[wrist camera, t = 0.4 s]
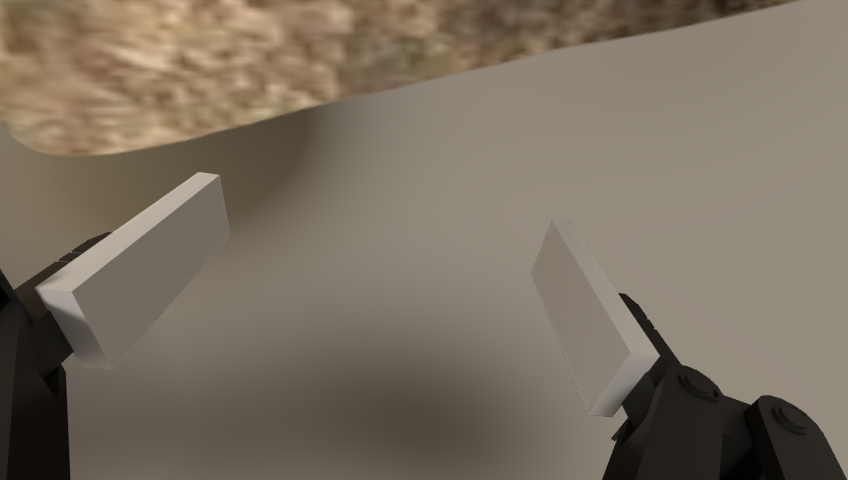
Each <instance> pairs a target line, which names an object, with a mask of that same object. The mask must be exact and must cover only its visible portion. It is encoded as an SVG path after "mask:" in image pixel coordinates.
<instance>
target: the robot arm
mask: <svg viewBox="0 0 848 480" xmlns="http://www.w3.org/2000/svg"><path fill="white" fill-rule="evenodd" d="M229 237H230V231H229V225H228V220H227V214H226V209H225V203H224V198H223V192H222V187H221V181H220V176H219V175H215V174H208V173H200V172H198V173H197V174H195V175H194V176H192V177H191V178H190V179H188V180H187V181H186V182H184V183H182V184H181V185H180V186H179V187H177V188H175V189H174V190H173V191H171V192H170V193H168V194H167V195H165V196H164V197H163V198H161V199H160V200H158V201H157V202H156V203H154V204H153V205H151V206H150V207H148V208H147V209H146V210H144V211H143V212H141V213H140V214H139V215H137V216H136V217H134V218H133V219H131V220H130V221H128V222H127V223H126V224H124V225H123V226H121V227H120V228H119V229H117V230H116V231H114V232H107V233H104V234H102V235H100V236H97V237H95V238H92V239H89V240H87V241H86V242H84V243H83V244H81V245H80V246H78V247H77V248H75V249H74V250H73V251H72V253H68V254H66V255H65V256H63V257H62V258H60V259H59V262H55V263H53V264H52V265H50V266H49V267H47V268H46V269H45V270H43V271H41V272H40V273H38V274H37V275H36V276H34V277H32V278H31V279H30V280H28V281H27V282H25V283H23V284H22V285H20V286H19V287H18V288H16V289H15V290H13V288H12V287H11V285H10V284H9V282H8V280H7V279H6V277H5V276H4V274H3V273H2V271H1V269H0V480H70V458H69V436H68V435H69V434H68V411H67V388H66V372H65V370H64V368H63V366H62V365H61V363H62V362H63V361H64V360H65V359H66V358H67V357H68V356H69V355H70V354H71V353H74V355H75V356H76V358H77V360H78V361H79V363H80V365H81V367H87V368H97V369H108V370H113V369H114V368H115V367H116V365H117V364H118V363H119V362H120V361H121V359H123V357H124V356H125V355H126V354H127V353H128V352H129V351H130V350H131V348H132V347H133V346H134V345H135V344H136V343H137V341H138V340H139V339H140V338H141V337H142V336H143V335H144V334H145V332H146V331H147V330H148V329H149V328H150V327H151V326H152V324H153V323H154V322H155V321H156V320H157V319H158V317H159V316H160V315H161V314H162V313H163V312H164V311H165V309H166V308H167V307H168V306H169V305H170V304H171V303H172V302H173V301H174V299H175V298H176V297H177V296H178V295H179V294H180V293H181V291H182V290H183V289H184V288H185V287H186V286H187V285H188V283H189V282H190V281H191V280H192V279H193V278H194V277H195V275H196V274H197V273H198V272H199V271H200V270H201V268H202V267H203V266H204V265H205V264H206V263H207V262H208V261H209V259H210V258H211V257H212V256H213V255H214V254H215V253H216V251H217V250H218V249H219V248H220V247H221V246H222V245H223V244H224V242H225V241H226V240H227V239H228V238H229ZM531 274H532V277H533V279H534V282H535V284H536V287H537V289H538V292H539V294H540V296H541V299H542V302H543V304H544V307H545V309H546V312H547V314H548V317H549V319H550V322H551V324H552V327H553V330H554V332H555V335H556V337H557V340H558V342H559V345H560V347H561V350H562V352H563V355H564V357H565V360H566V362H567V365H568V367H569V370H570V372H571V375H572V377H573V380H574V382H575V385H576V387H577V390H578V392H579V395H580V398H581V400H582V403H583V405H584V408H585V410H586V413H587V415H594V416H605V417H613V416H614V414H615V413H616V412H617V411H618V409H619V408H620V407H621V405H623V408H624V410H625V412H626V414H627V416H628V419H627V420H626V421H625V422H624V423H623V425H622V426H621V427H620V428H619V429H618V431H617V432H616V433H615V434H614V436H613V437H612V438H611V439H612V440H614V441H616V440H617V441H616V444H615V446H614V449H613V452H612V455H611V457H610V460H609V463H608V465H607V468H606V471H605V473H604V476H603V479H602V480H847V479H846V477H845V475H844V473H843V471H842V469H841V467H840V465H839V463H838V461H837V459H836V457H835V455H834V453H833V451H832V449H831V447H830V445H829V444H828V441H827V439H826V438H825V436H824V434H823V432H822V431H821V430H820V428H819V427H818V425H817V424H816V423H815V422H814V421H813V420H812V419H811V418H810V417H808V416H807V414H806V413H804V412H803V411H802V410H800V409H799V408H797V407H796V406H794V405H792V404H790V403H788V402H786V401H785V400H783V399H780V398H777V397H774V396H770V395H765V396H761V397H760V398H759V399H757V400H756V401H755V402H754V403H753V404H752V405H750V404H747V403H744V402H741V401H738V400H736V399H733V398H730V397H727V396H724V395H723V394H722V393H721V391H720V389H719V388H718V386H717V385H715V384H714V383H713V382H712V381H711V380H710V379H709V378H708V377H706V376H705V375H703V374H702V373H700V372H699V371H697V370H695V369H693V368H690V367H688V366H683V365H681V363H680V362H679V361H678V359H677V358H676V357H675V355H674V354H673V352H672V351H671V350H670V348H669V347H668V345H667V344H666V343H665V341H664V340H663V338H662V337H661V336H660V334H659V333H658V331H657V330H654V326H653V325H652V323H651V322H650V320H648V319H647V316H646V315H645V313H644V312H643V311H642V309H641V308H640V306H639V305H638V304H637V303H635V302H634V301H633V300H632V299H631V298H630V297H628V296H627V295H626V294H622V293H617V291H616V290H615V288H614V287H613V285H612V284H611V283H610V281H609V280H608V278H607V277H606V275H605V274H604V272H603V271H602V269H601V268H600V266H599V265H598V263H597V262H596V260H595V259H594V258H593V256H592V255H591V253H590V251H589V250H588V248H587V247H586V246H585V244H584V243H583V241H582V240H581V238H580V237H579V235H578V234H577V232H576V231H575V229H574V228H573V227H572V225H571V223H569V222H561V221H554V220H552V222H551V224H550V227H549V229H548V232H547V234H546V237H545V239H544V242H543V245H542V247H541V249H540V252H539V254H538V257H537V259H536V262H535V265H534V267H533V269H532V272H531Z"/></svg>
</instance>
